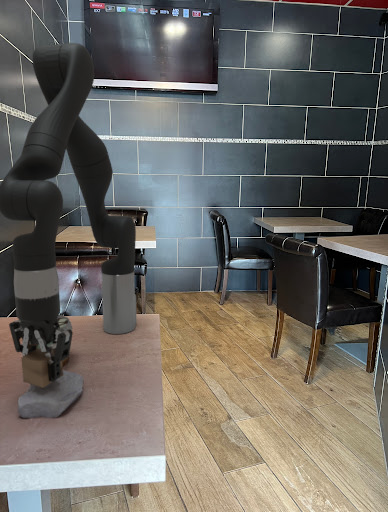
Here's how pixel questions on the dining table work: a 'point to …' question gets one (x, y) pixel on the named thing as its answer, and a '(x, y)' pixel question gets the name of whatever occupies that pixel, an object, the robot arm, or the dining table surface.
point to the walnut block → (37, 368)
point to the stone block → (51, 397)
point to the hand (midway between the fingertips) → (43, 376)
